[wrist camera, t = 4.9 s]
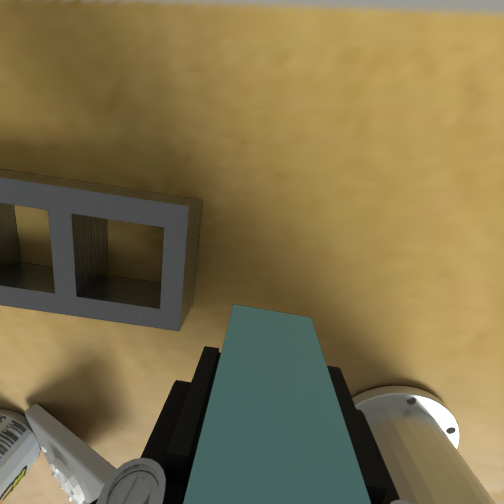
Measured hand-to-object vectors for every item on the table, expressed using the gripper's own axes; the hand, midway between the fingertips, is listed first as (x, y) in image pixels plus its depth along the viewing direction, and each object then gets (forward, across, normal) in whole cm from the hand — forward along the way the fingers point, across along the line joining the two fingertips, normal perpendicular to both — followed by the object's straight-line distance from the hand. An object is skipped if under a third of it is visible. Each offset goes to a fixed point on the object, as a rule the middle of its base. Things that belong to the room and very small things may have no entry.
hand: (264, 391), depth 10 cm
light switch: (+13, +14, +20) cm, 28 cm away
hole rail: (+12, +18, -1) cm, 22 cm away
